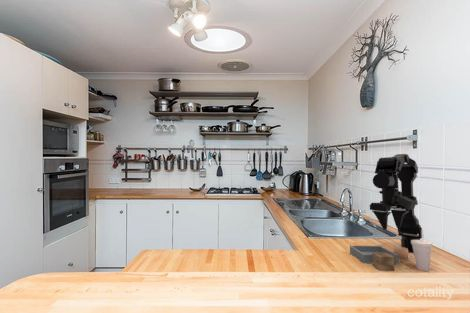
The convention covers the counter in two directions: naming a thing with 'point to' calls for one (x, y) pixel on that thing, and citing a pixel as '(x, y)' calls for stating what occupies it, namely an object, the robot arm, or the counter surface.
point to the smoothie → (422, 253)
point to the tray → (370, 253)
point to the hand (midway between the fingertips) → (391, 228)
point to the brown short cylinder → (401, 252)
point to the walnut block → (383, 261)
